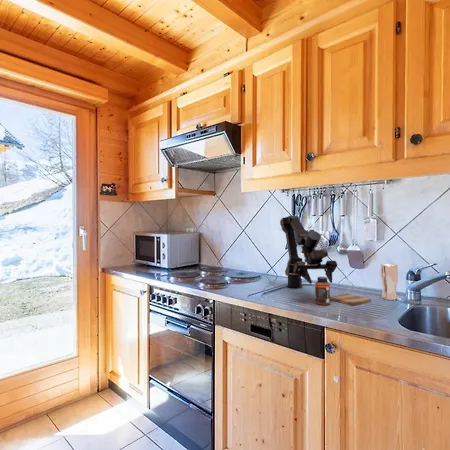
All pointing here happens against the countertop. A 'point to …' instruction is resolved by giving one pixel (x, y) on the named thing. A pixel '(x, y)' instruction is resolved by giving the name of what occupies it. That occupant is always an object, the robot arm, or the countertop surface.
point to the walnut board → (350, 299)
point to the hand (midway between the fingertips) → (321, 282)
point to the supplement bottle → (322, 291)
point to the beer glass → (389, 281)
